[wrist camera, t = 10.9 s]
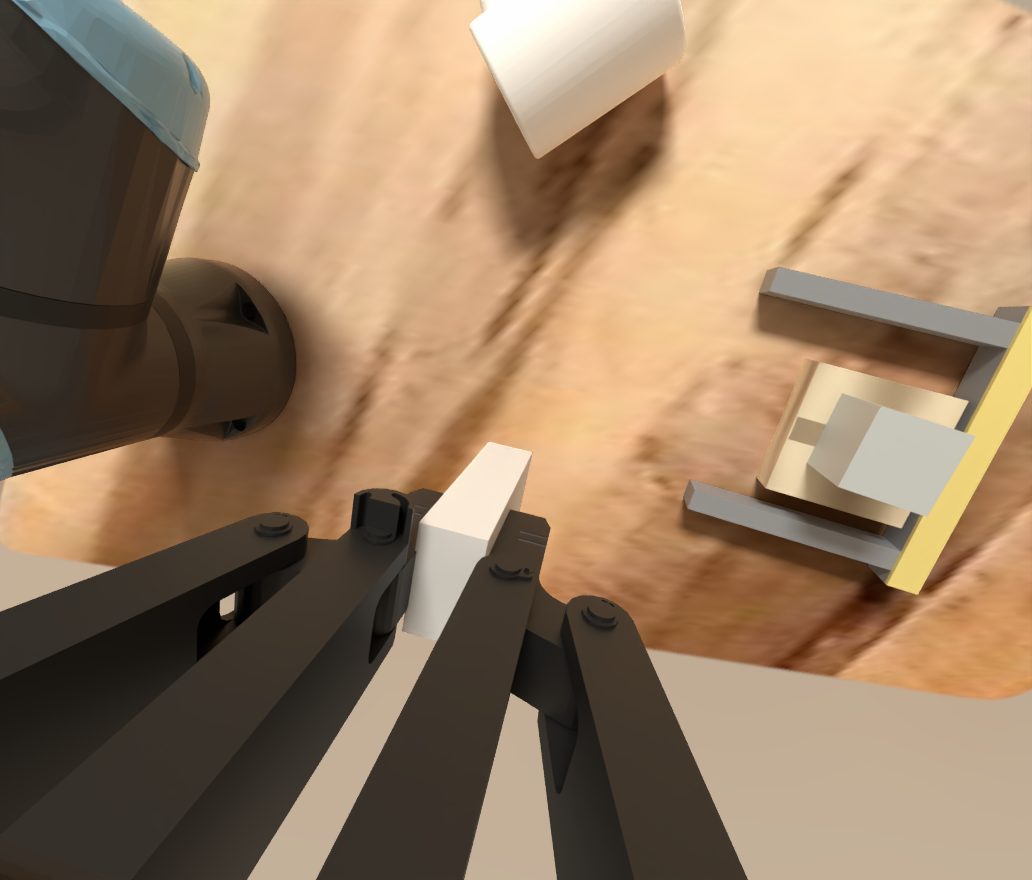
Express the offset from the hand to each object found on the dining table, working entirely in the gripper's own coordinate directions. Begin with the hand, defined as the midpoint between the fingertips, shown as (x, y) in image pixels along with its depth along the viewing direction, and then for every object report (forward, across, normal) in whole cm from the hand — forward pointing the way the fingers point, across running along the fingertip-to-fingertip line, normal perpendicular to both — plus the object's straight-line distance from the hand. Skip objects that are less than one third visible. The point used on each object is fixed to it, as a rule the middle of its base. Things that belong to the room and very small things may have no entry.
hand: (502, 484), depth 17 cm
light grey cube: (+19, +20, +1) cm, 28 cm away
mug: (+23, -4, +22) cm, 32 cm away
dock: (+22, +19, +2) cm, 29 cm away
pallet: (+22, +20, +1) cm, 30 cm away
